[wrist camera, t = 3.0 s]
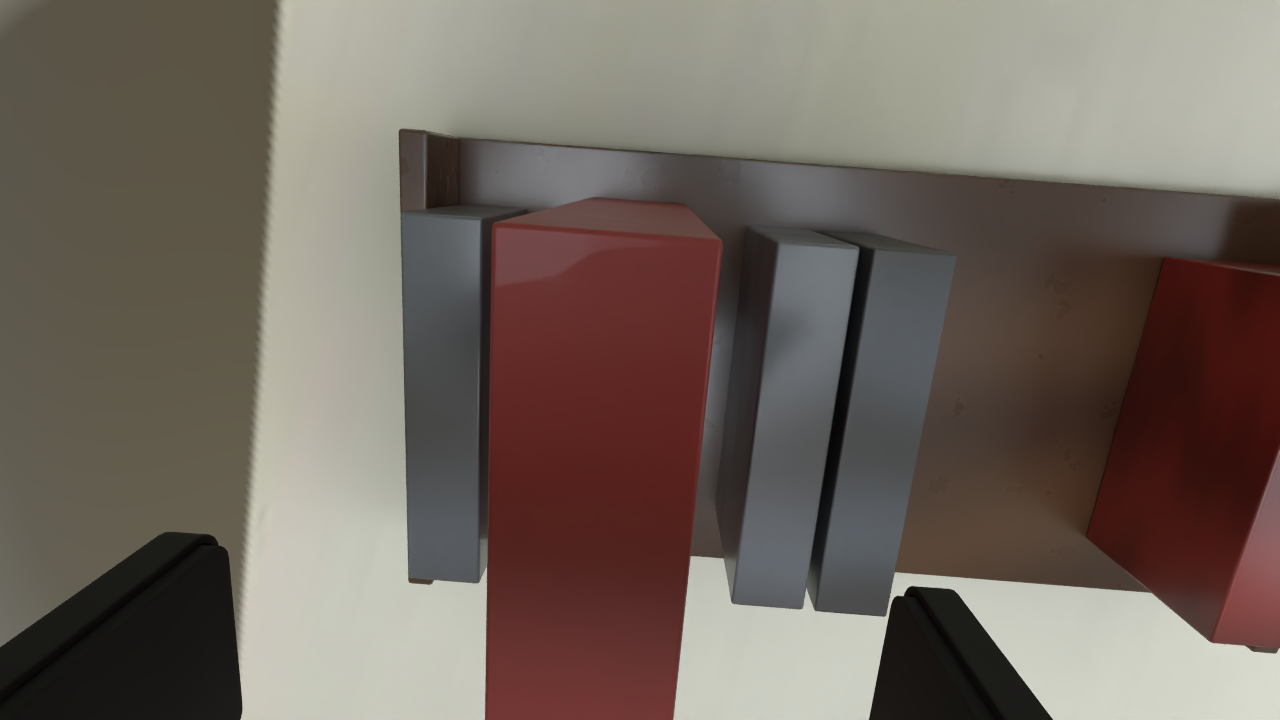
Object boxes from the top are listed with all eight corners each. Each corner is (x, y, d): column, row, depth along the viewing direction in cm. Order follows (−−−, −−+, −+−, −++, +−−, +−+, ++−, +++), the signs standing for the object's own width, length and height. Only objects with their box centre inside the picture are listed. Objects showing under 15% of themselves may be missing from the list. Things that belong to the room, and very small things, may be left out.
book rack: (444, 137, 22) (354, 119, 15) (1307, 202, 21) (1580, 211, 15) (445, 522, 25) (374, 637, 19) (1182, 581, 25) (1360, 718, 19)
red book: (591, 196, 21) (490, 221, 9) (685, 203, 21) (723, 239, 8) (575, 510, 24) (481, 872, 11) (658, 516, 24) (656, 887, 11)
